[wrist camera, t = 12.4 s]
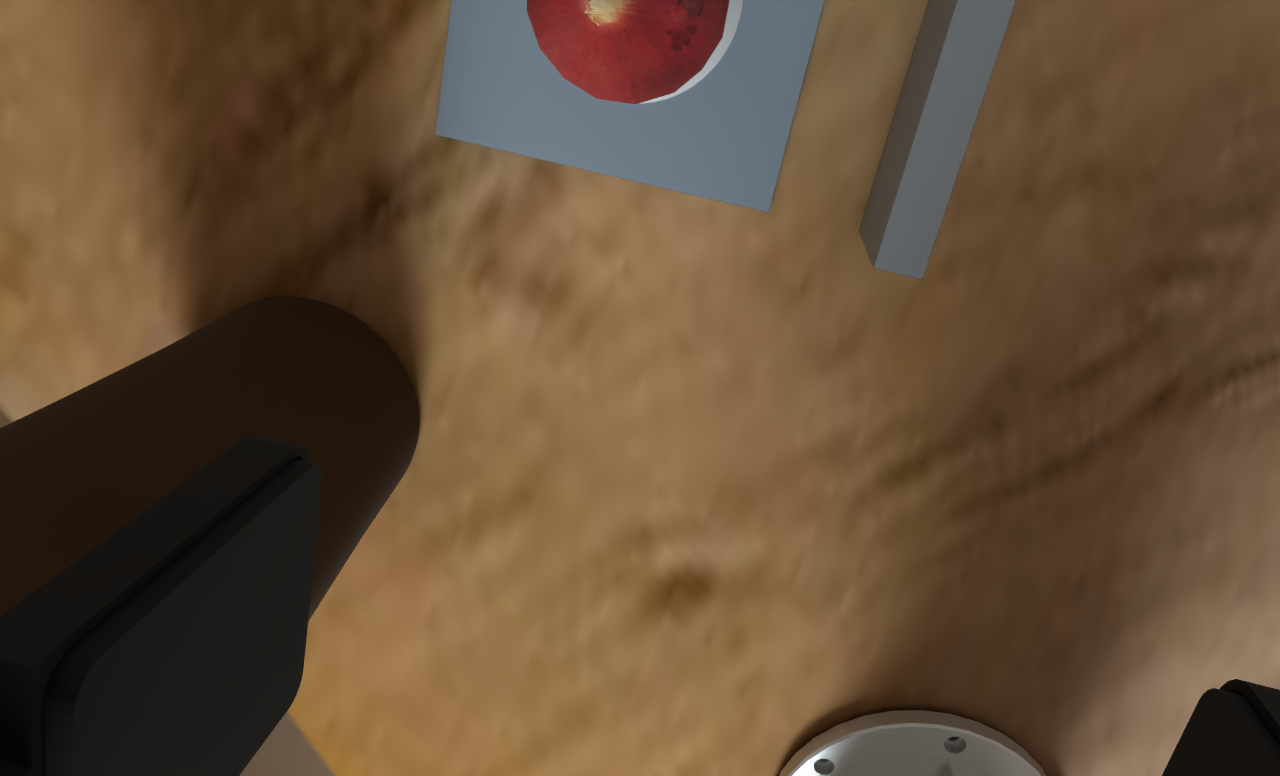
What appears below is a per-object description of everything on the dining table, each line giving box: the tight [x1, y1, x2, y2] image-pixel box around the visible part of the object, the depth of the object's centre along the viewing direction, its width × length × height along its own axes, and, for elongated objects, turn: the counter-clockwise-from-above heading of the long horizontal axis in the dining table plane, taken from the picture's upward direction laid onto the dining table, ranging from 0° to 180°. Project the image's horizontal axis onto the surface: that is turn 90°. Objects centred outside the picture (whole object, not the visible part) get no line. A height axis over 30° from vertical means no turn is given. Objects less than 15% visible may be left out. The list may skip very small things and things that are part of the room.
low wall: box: [859, 0, 1016, 279], centre depth 30 cm, size 12×2×5 cm, turn 168°
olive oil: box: [0, 298, 419, 621], centre depth 28 cm, size 11×11×25 cm
